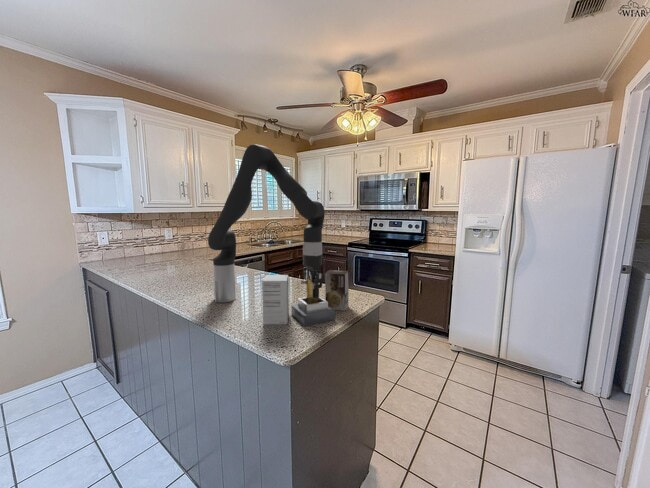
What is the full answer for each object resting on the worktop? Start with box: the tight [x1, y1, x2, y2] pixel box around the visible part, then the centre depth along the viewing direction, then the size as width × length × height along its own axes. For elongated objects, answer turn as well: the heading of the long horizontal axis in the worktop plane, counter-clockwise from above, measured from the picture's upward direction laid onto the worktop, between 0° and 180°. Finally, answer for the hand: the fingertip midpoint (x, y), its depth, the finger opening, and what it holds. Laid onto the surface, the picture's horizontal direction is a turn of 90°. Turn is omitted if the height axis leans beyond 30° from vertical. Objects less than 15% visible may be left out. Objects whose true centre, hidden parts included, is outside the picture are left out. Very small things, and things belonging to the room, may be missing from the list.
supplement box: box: [261, 274, 290, 326], centre depth 104 cm, size 10×9×17 cm
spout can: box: [300, 278, 319, 304], centre depth 107 cm, size 5×7×10 cm
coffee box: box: [324, 269, 350, 312], centre depth 118 cm, size 9×6×16 cm
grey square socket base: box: [291, 295, 336, 327], centre depth 108 cm, size 13×13×7 cm
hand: (312, 295), depth 107 cm, fingers closed on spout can, 5 cm apart
